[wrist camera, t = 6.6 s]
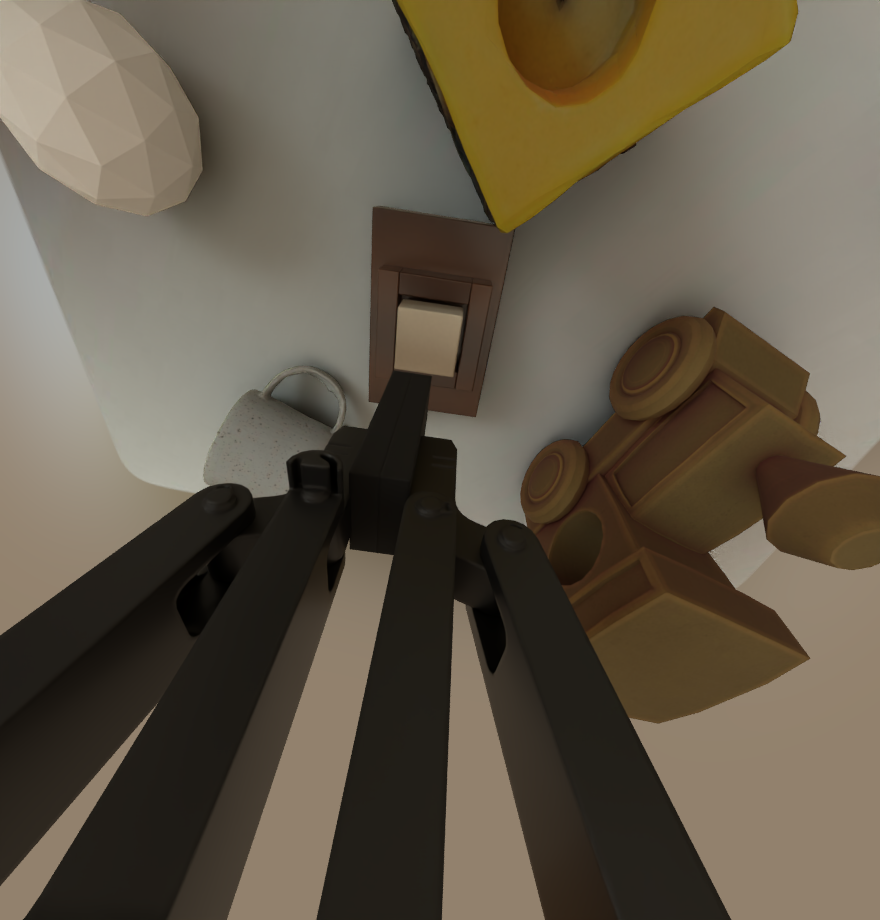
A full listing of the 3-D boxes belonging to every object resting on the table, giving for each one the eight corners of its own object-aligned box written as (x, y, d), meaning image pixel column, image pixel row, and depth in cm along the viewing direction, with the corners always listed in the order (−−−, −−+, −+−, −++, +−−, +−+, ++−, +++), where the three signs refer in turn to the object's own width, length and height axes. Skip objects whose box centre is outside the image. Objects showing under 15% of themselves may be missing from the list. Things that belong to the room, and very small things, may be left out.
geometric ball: (223, 157, 24) (232, 241, 21) (76, 159, 22) (61, 252, 19) (157, -35, 17) (155, 49, 14) (-65, -55, 15) (-123, 36, 12)
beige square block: (403, 298, 22) (397, 306, 20) (463, 307, 22) (463, 316, 20) (399, 357, 24) (393, 369, 22) (454, 365, 24) (453, 377, 22)
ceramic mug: (330, 482, 35) (300, 543, 28) (242, 444, 33) (189, 500, 27) (374, 390, 29) (350, 440, 23) (272, 338, 28) (215, 377, 21)
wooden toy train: (594, 537, 37) (669, 734, 23) (497, 490, 34) (517, 682, 21) (791, 368, 26) (1137, 547, 13) (672, 282, 24) (946, 393, 10)
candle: (605, -197, 15) (782, -707, 6) (667, 104, 19) (817, 33, 11) (393, 14, 18) (331, -140, 10) (489, 225, 23) (502, 240, 14)
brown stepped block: (379, 205, 22) (365, 207, 19) (511, 226, 23) (519, 231, 19) (374, 389, 29) (362, 413, 26) (475, 404, 29) (476, 429, 26)
